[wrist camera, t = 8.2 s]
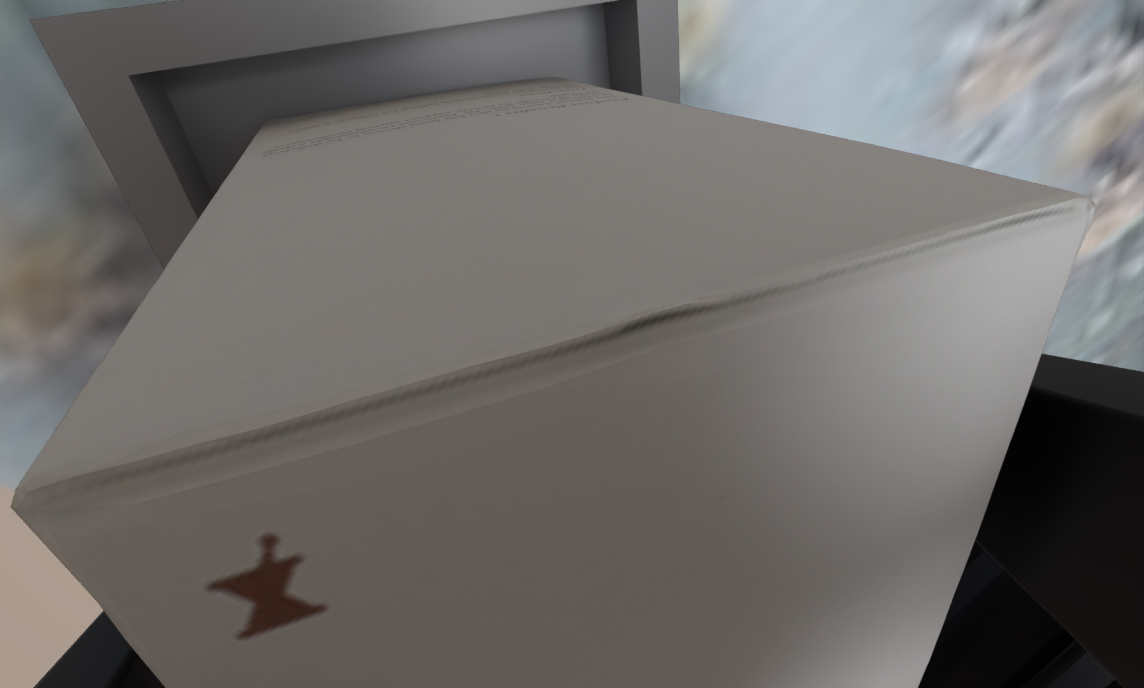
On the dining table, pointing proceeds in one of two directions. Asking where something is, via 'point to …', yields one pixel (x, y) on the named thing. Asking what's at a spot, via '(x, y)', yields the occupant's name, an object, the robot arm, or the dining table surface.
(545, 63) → the tray
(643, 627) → the supplement box
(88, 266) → the dining table surface
